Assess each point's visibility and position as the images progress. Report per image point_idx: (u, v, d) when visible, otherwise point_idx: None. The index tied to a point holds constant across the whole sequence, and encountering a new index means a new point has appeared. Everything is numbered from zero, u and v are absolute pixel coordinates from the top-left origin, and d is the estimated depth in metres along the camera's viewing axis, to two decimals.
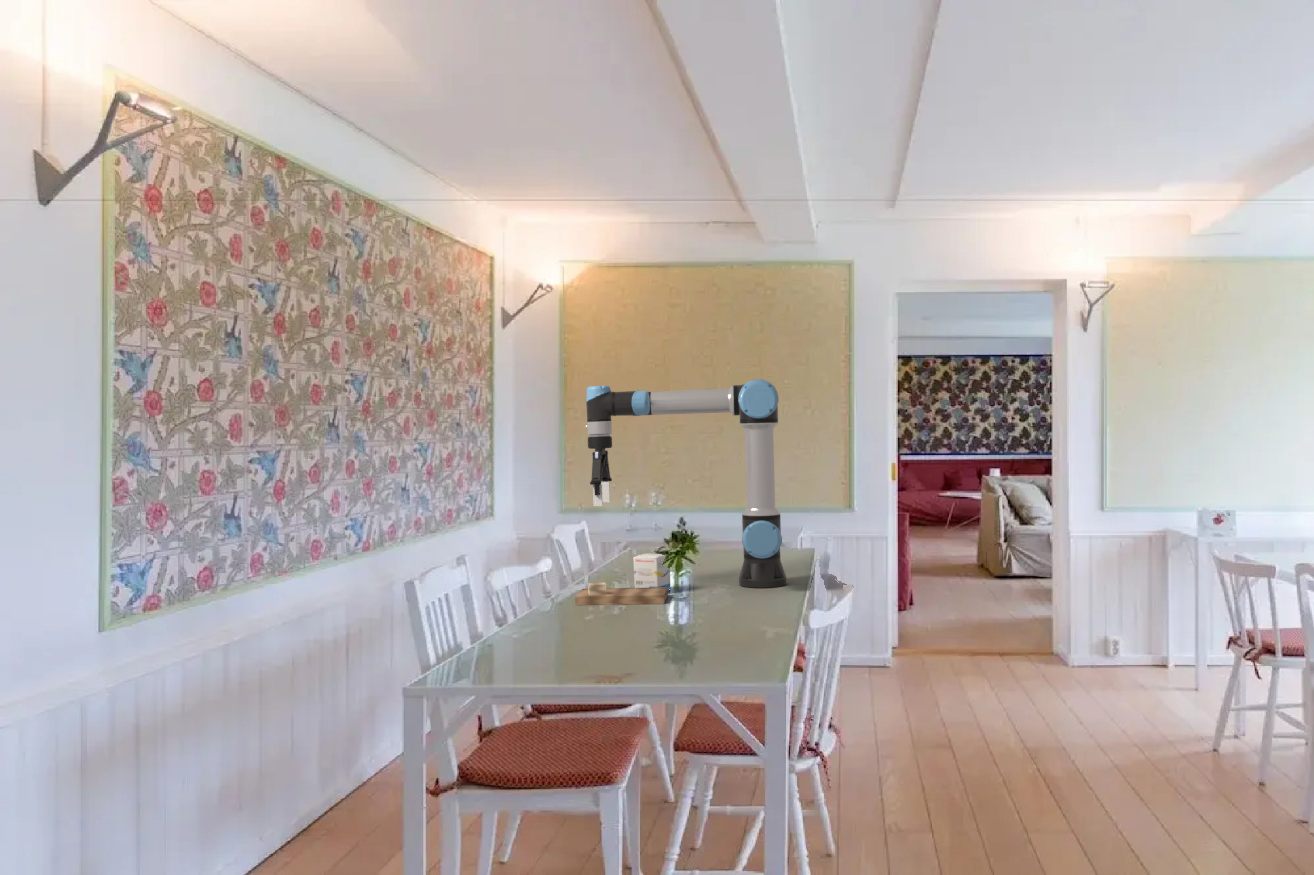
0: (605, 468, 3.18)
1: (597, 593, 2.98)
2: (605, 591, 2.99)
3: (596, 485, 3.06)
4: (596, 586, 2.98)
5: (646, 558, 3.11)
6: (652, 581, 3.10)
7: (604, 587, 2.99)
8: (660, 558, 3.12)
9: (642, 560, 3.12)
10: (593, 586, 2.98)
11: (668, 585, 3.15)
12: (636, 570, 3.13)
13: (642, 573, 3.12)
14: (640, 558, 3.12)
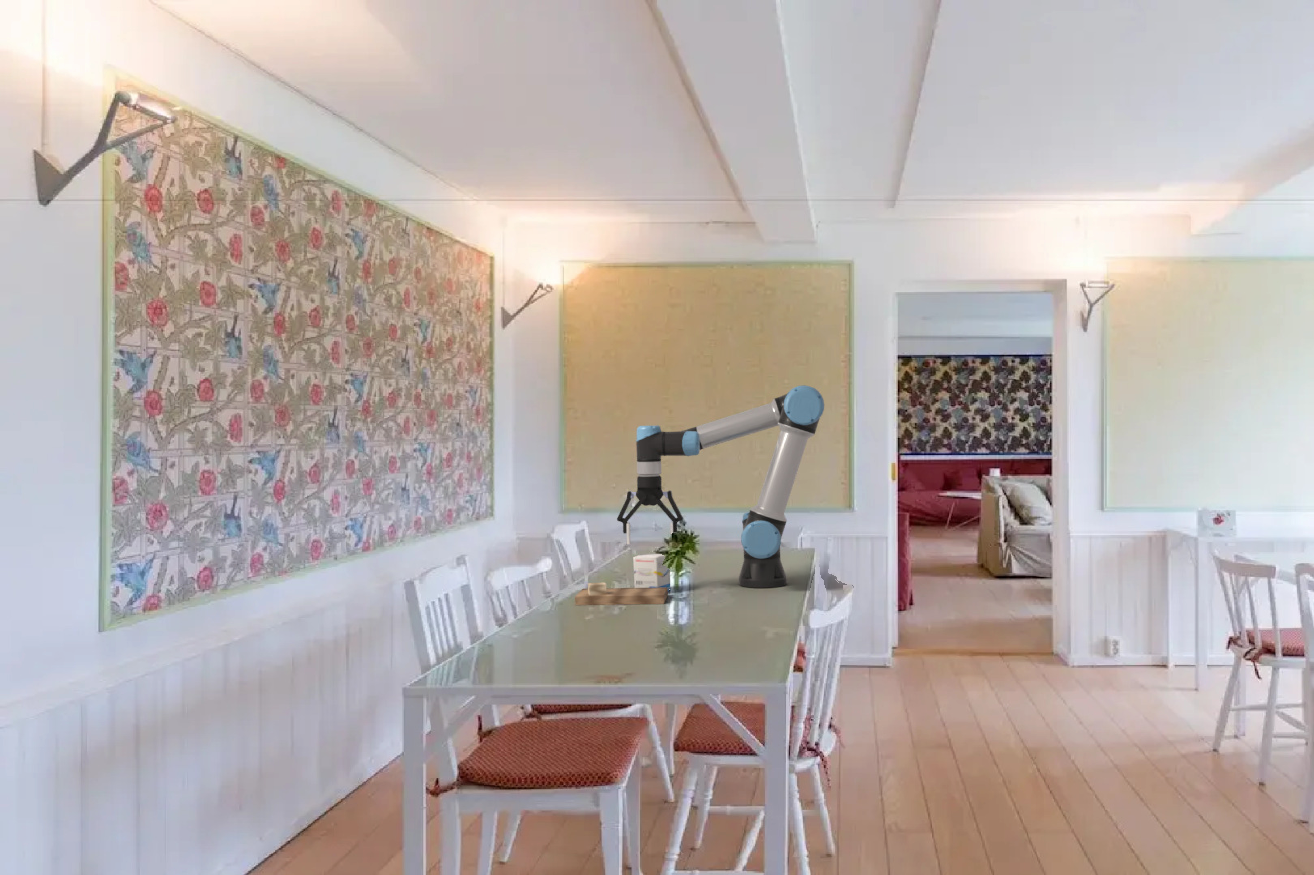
0: None
1: (597, 593, 2.98)
2: (605, 591, 2.99)
3: (623, 523, 3.15)
4: (596, 586, 2.98)
5: (646, 558, 3.11)
6: (652, 581, 3.10)
7: (604, 587, 2.99)
8: (660, 558, 3.12)
9: (642, 560, 3.12)
10: (593, 586, 2.98)
11: (668, 585, 3.15)
12: (636, 570, 3.13)
13: (642, 573, 3.12)
14: (640, 558, 3.12)
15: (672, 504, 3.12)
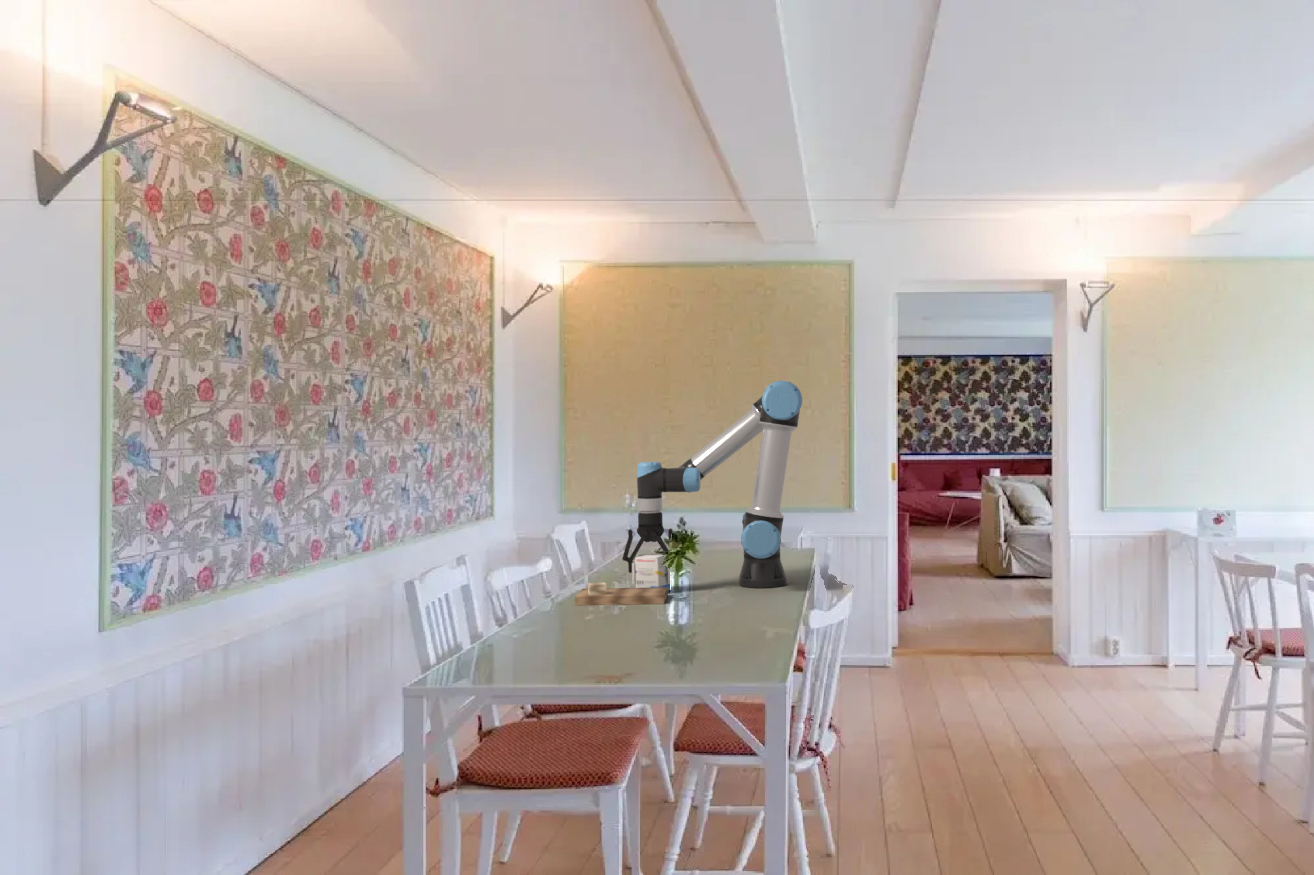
0: None
1: (597, 593, 2.98)
2: (605, 591, 2.99)
3: None
4: (596, 586, 2.98)
5: (647, 558, 3.11)
6: (653, 581, 3.10)
7: (604, 587, 2.99)
8: (661, 558, 3.12)
9: (643, 560, 3.12)
10: (593, 586, 2.98)
11: (669, 585, 3.15)
12: (637, 569, 3.13)
13: (643, 573, 3.12)
14: (641, 558, 3.12)
15: None
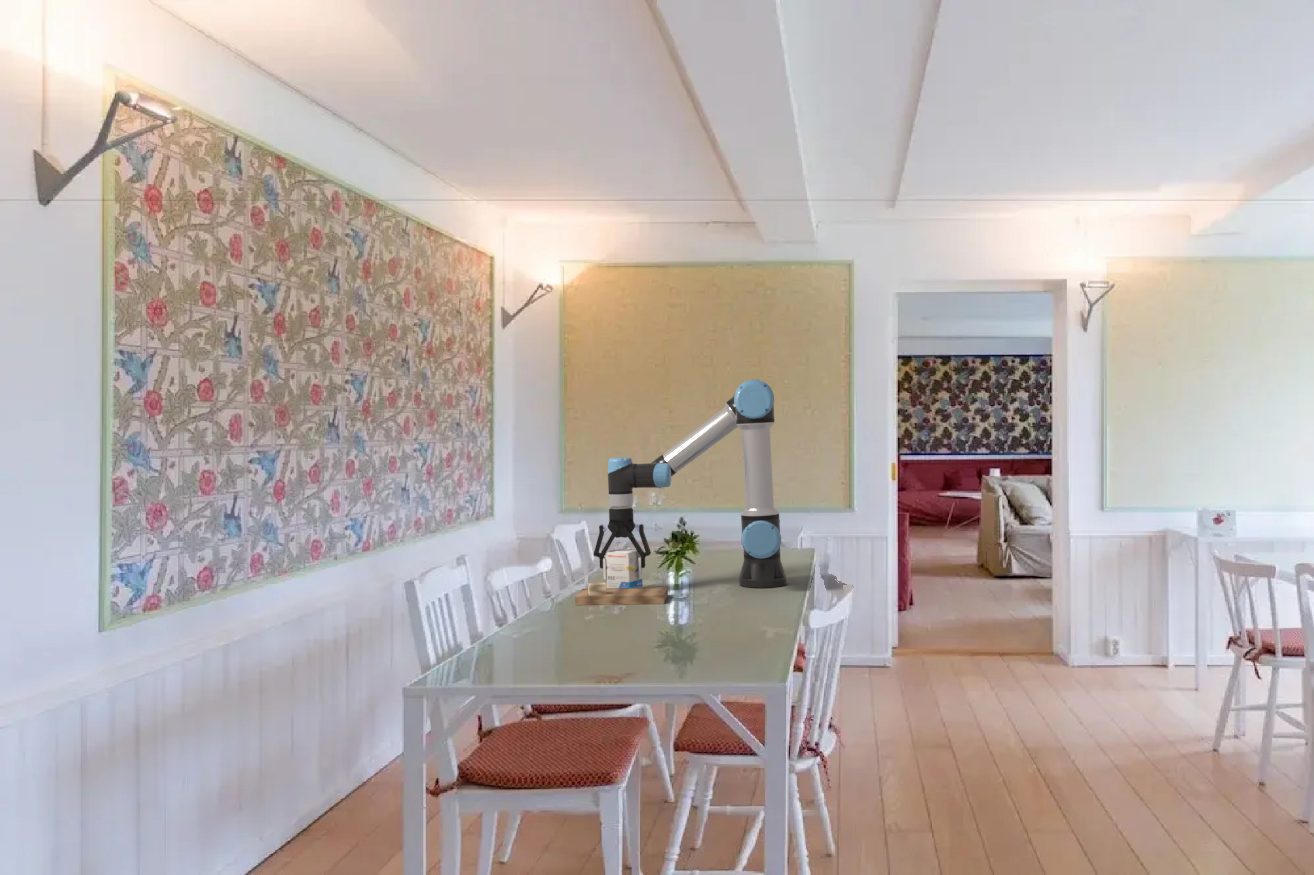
0: None
1: (597, 593, 2.98)
2: (605, 591, 2.99)
3: (599, 558, 3.16)
4: (596, 586, 2.98)
5: (618, 553, 3.12)
6: (624, 576, 3.11)
7: (604, 587, 2.99)
8: (632, 553, 3.12)
9: (614, 555, 3.13)
10: (593, 586, 2.98)
11: (640, 580, 3.16)
12: (608, 565, 3.14)
13: (614, 569, 3.13)
14: (612, 553, 3.13)
15: (642, 538, 3.13)
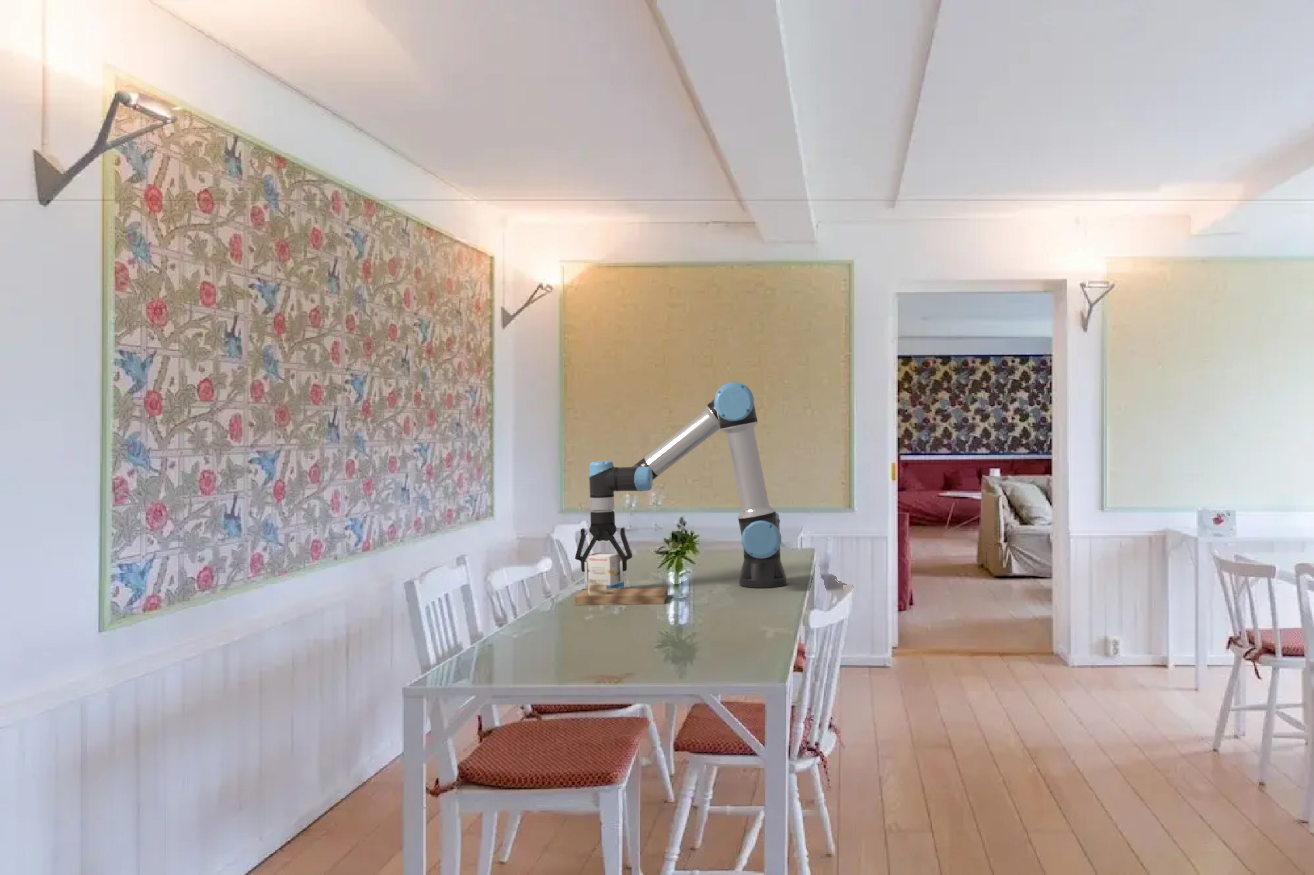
0: None
1: (597, 593, 2.98)
2: (605, 591, 2.99)
3: None
4: (596, 586, 2.98)
5: (599, 557, 3.13)
6: (605, 579, 3.12)
7: (604, 587, 2.99)
8: (613, 557, 3.13)
9: (595, 559, 3.13)
10: (593, 586, 2.98)
11: (622, 584, 3.17)
12: (589, 568, 3.14)
13: (595, 572, 3.13)
14: (594, 557, 3.14)
15: (623, 541, 3.14)
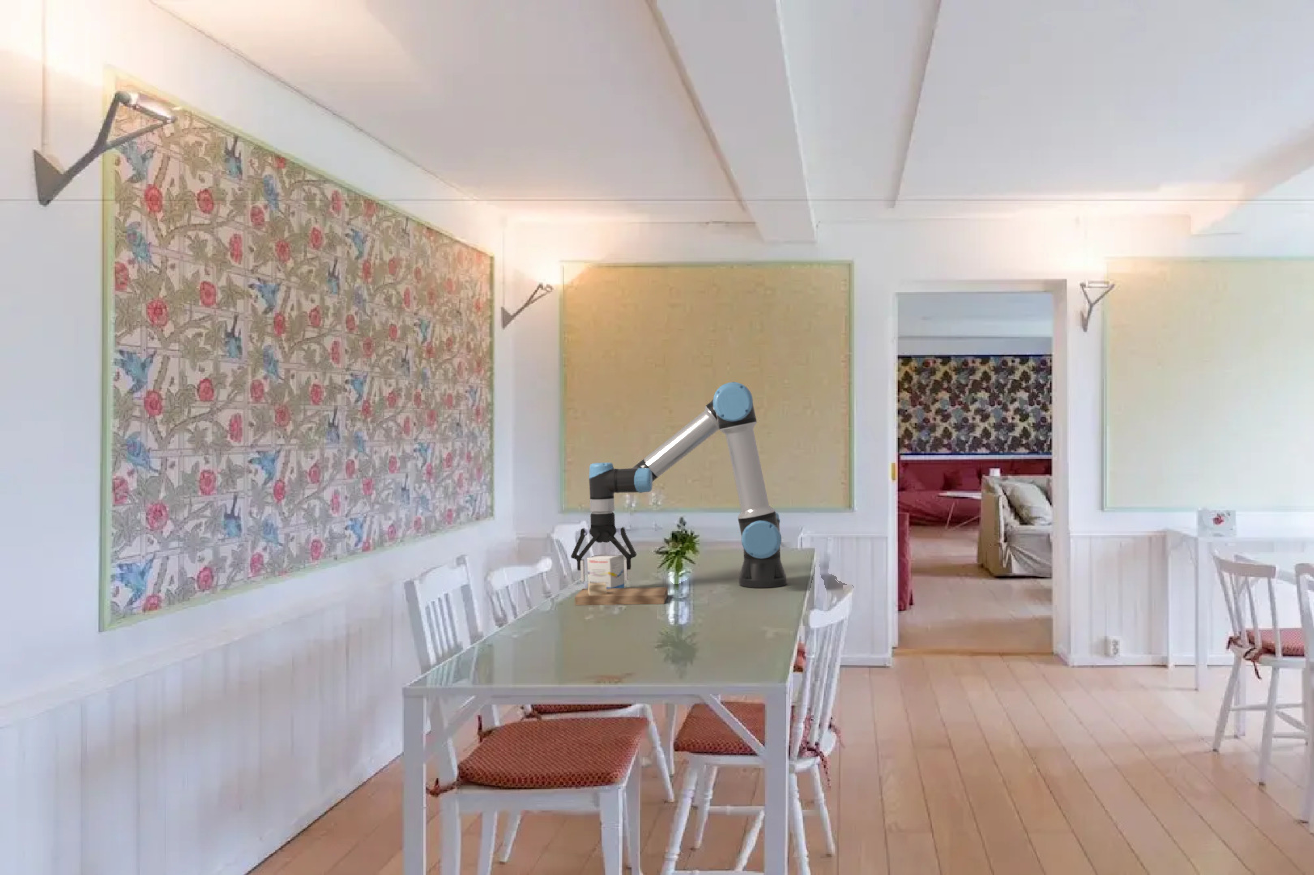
0: None
1: (597, 593, 2.98)
2: (605, 591, 2.99)
3: None
4: (596, 586, 2.98)
5: (600, 559, 3.13)
6: (605, 582, 3.12)
7: (604, 587, 2.99)
8: (614, 559, 3.13)
9: (596, 561, 3.13)
10: (593, 586, 2.98)
11: (622, 586, 3.17)
12: (590, 570, 3.14)
13: (596, 574, 3.13)
14: (594, 559, 3.14)
15: (625, 541, 3.13)
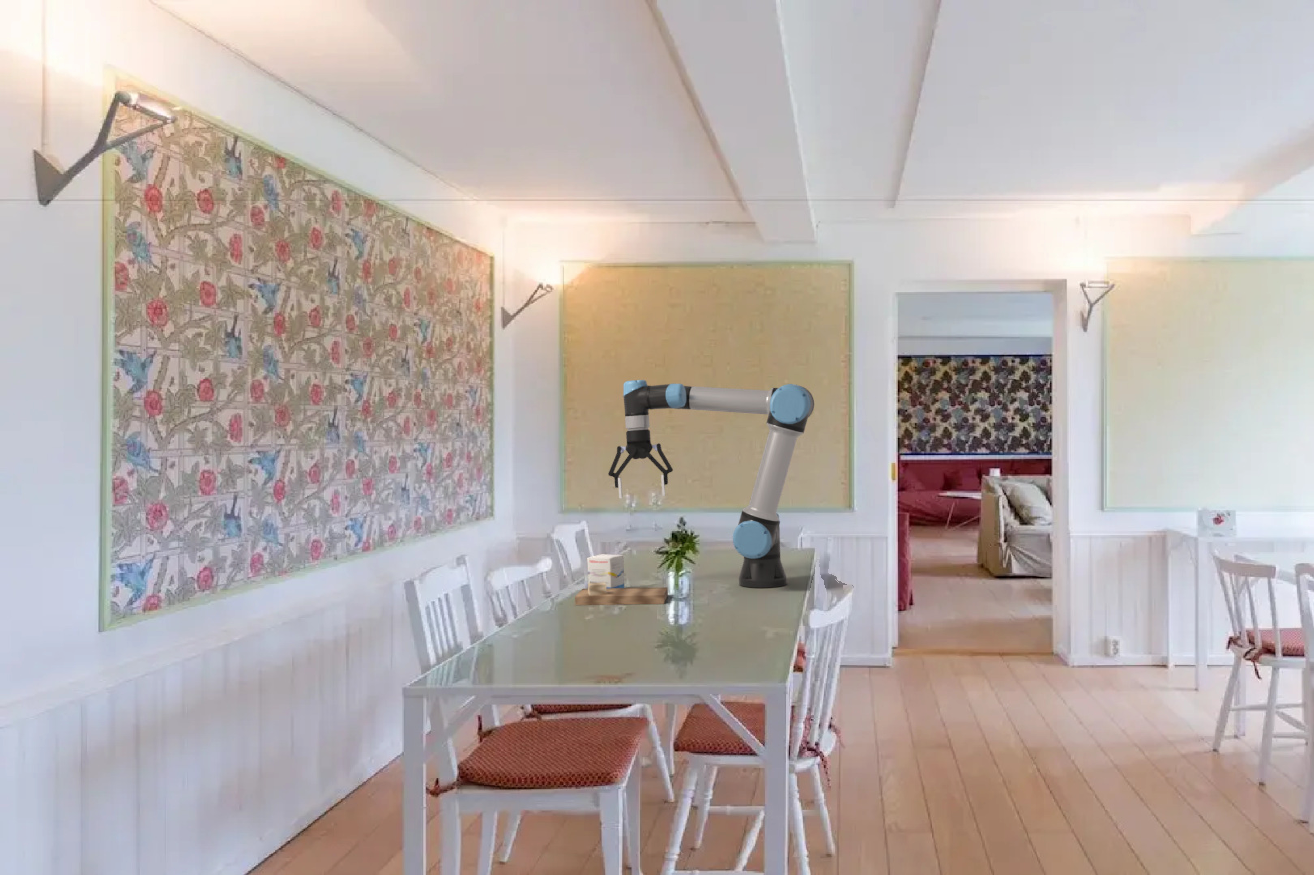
0: (652, 461, 3.18)
1: (597, 593, 2.98)
2: (605, 591, 2.99)
3: None
4: (596, 586, 2.98)
5: (600, 559, 3.13)
6: (605, 582, 3.12)
7: (604, 587, 2.99)
8: (614, 559, 3.13)
9: (596, 561, 3.13)
10: (593, 586, 2.98)
11: (622, 586, 3.17)
12: (590, 570, 3.14)
13: (596, 574, 3.13)
14: (594, 559, 3.14)
15: (662, 456, 3.18)
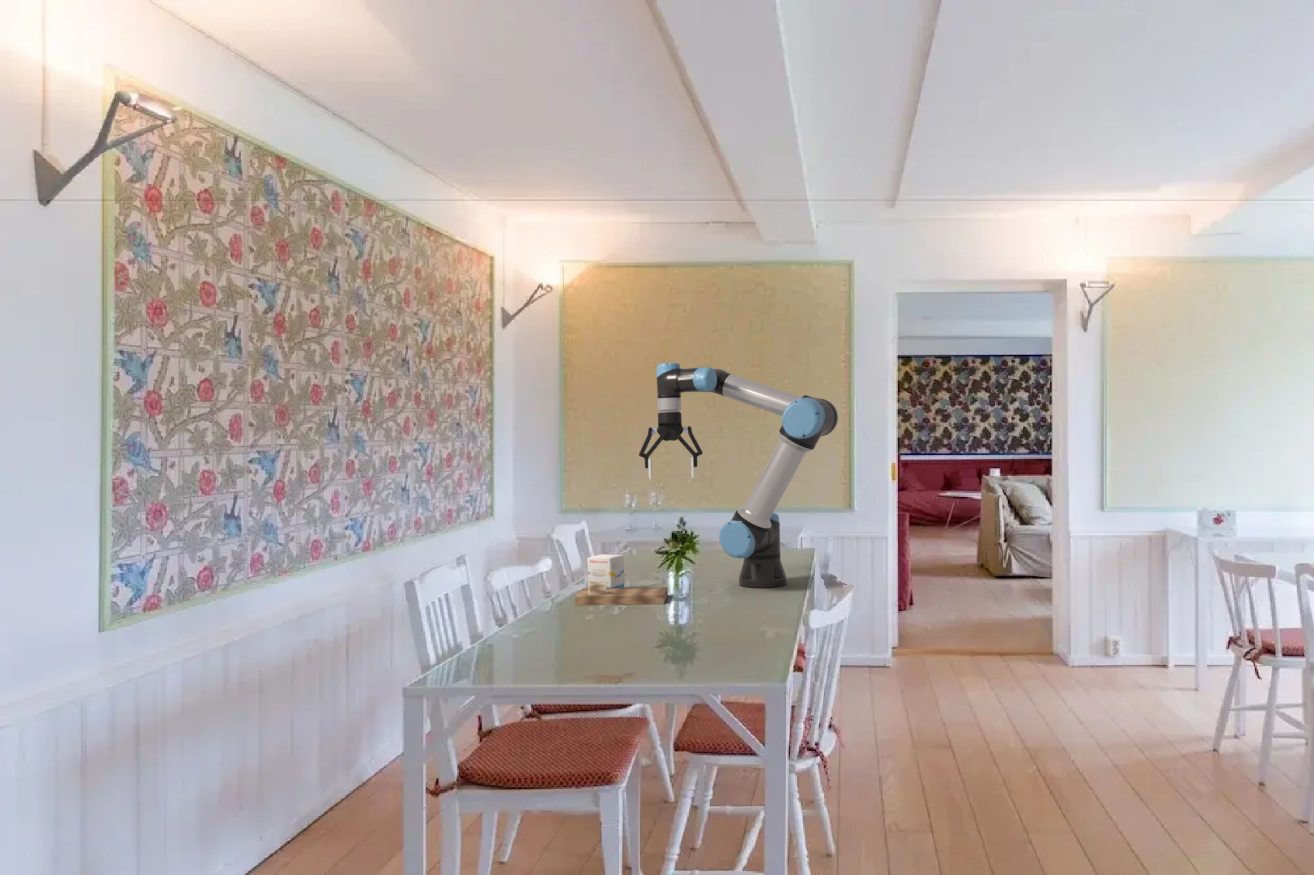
0: (682, 443, 3.22)
1: (597, 593, 2.98)
2: (605, 591, 2.99)
3: None
4: (596, 586, 2.98)
5: (600, 559, 3.13)
6: (605, 582, 3.12)
7: (604, 587, 2.99)
8: (614, 559, 3.13)
9: (596, 561, 3.13)
10: (593, 586, 2.98)
11: (622, 586, 3.17)
12: (590, 570, 3.14)
13: (596, 574, 3.13)
14: (594, 559, 3.14)
15: (692, 439, 3.22)
